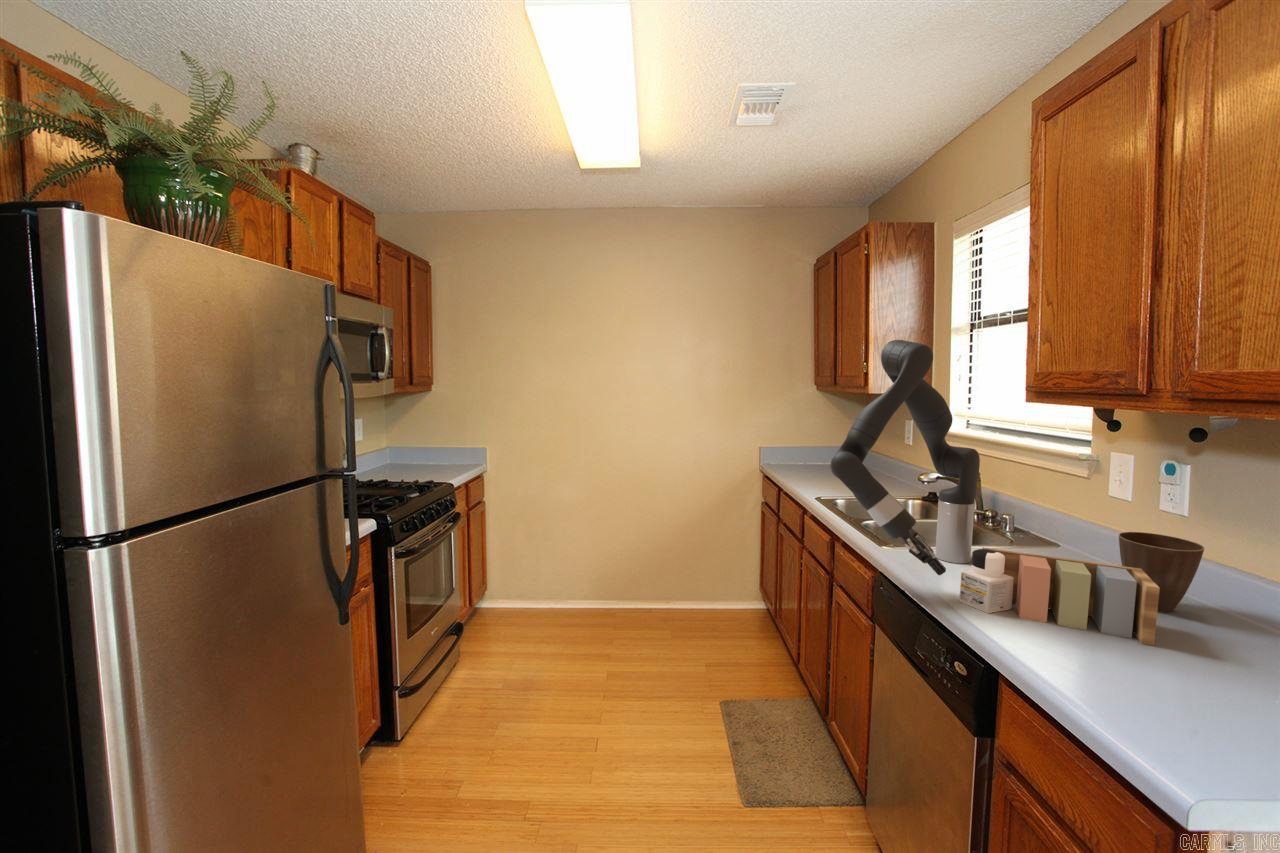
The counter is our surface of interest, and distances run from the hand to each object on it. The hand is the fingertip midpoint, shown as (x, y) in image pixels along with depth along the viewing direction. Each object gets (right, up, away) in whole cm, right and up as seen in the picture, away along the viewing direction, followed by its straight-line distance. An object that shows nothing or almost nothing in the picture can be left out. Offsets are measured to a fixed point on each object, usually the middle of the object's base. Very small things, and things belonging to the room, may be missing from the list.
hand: (942, 572), depth 140 cm
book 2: (+22, -8, -11) cm, 26 cm away
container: (+8, -7, -4) cm, 11 cm away
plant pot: (+48, -7, -3) cm, 49 cm away
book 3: (+29, -8, -15) cm, 33 cm away
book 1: (+16, -7, -8) cm, 19 cm away
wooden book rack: (+20, -7, -10) cm, 24 cm away
